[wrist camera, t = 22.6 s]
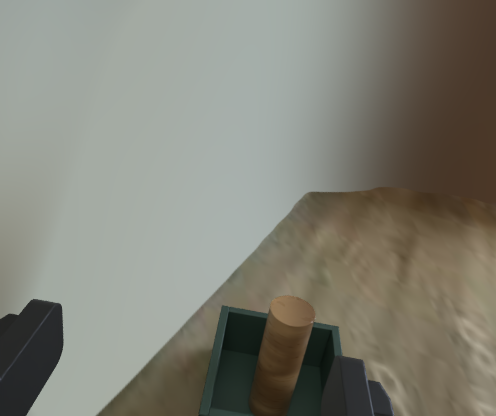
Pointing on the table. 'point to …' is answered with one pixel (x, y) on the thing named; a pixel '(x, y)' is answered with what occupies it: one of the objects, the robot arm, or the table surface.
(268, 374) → the wooden cylinder
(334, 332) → the bin
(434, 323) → the table surface
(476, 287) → the table surface
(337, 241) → the table surface
